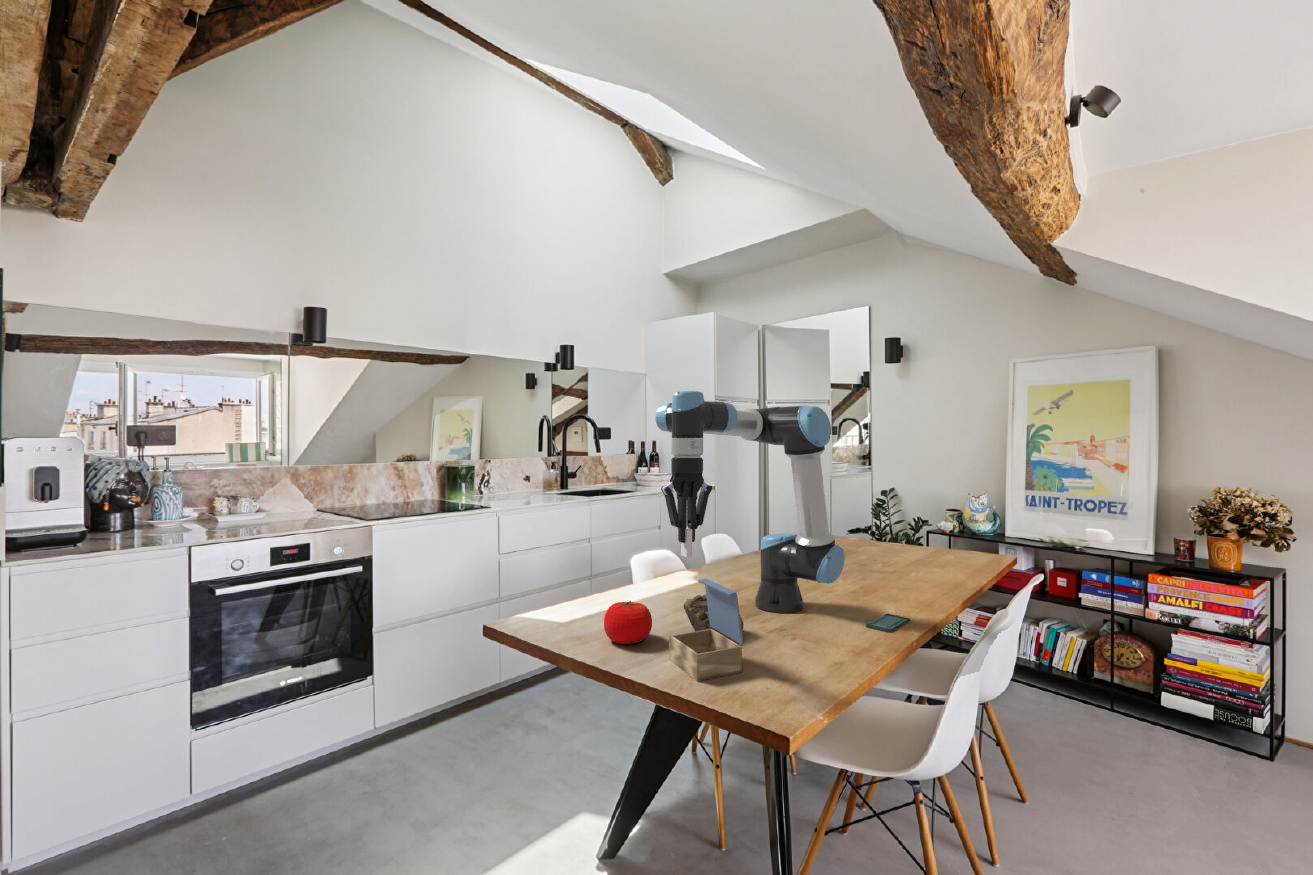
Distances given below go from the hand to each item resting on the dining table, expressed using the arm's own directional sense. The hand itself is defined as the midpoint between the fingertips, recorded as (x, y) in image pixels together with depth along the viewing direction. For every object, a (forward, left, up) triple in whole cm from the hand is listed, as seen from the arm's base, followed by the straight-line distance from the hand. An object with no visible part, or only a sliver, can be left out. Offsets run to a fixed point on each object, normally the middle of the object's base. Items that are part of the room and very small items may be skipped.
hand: (686, 555), depth 142 cm
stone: (-16, +18, -27) cm, 36 cm away
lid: (0, +8, -14) cm, 17 cm away
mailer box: (0, +5, -27) cm, 27 cm away
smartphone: (-4, +69, -28) cm, 74 cm away
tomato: (-24, -5, -27) cm, 37 cm away
